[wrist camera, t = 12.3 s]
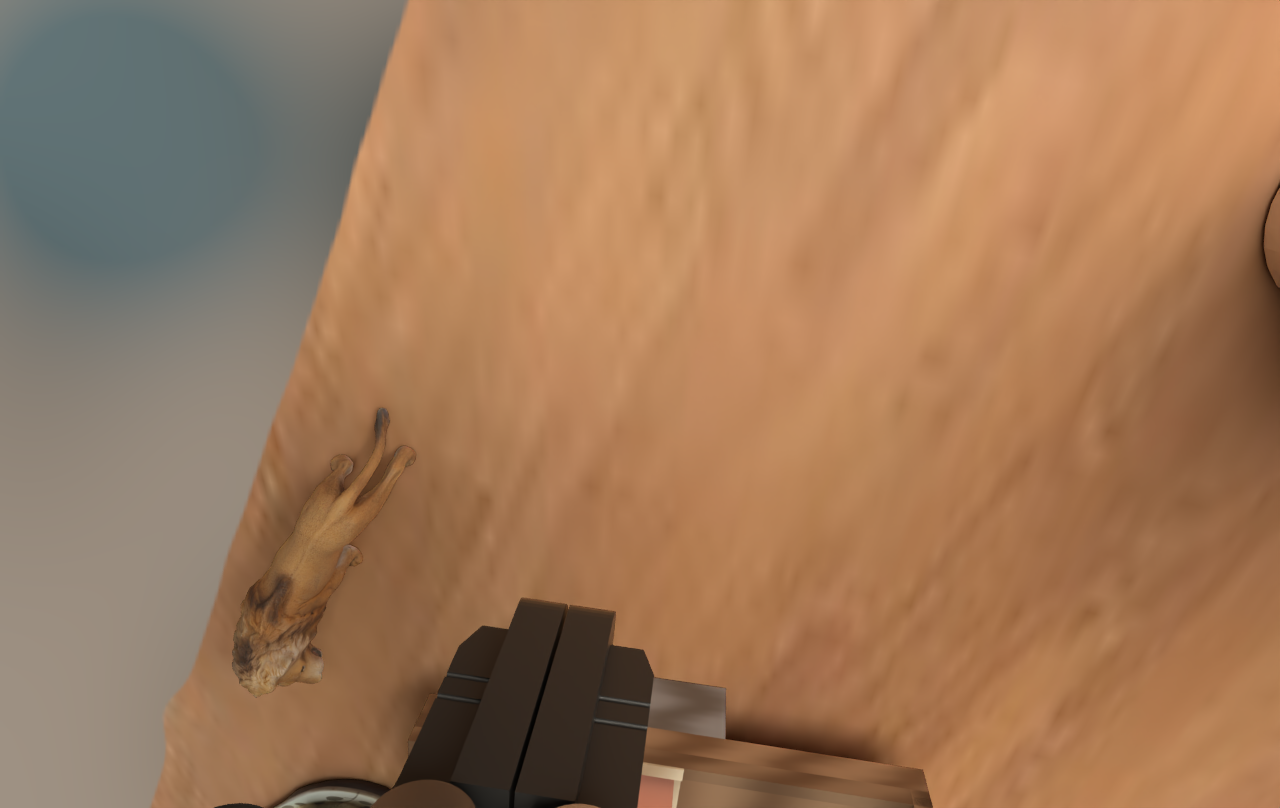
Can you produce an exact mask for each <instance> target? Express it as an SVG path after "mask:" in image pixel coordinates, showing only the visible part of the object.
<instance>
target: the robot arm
mask: <svg viewBox="0 0 1280 808" xmlns="http://www.w3.org/2000/svg"><path fill="white" fill-rule="evenodd" d="M1264 251H1265V257H1266V262H1267V267H1268V269H1269V271H1270V273H1271V275H1272V277H1273V279H1274V281H1275V283H1276V285H1277V286H1278V287H1279V288H1280V188H1279V190H1278V192H1277V194H1276V196H1275V198H1274V200H1273V202H1272V204H1271V207H1270V211H1269V214H1268V218H1267V221H1266V224H1265V235H1264ZM615 617H616V612H615V611H608V610H601V609H595V608H588V607H581V606H574V605H570V607H569V609H568V605H567V604H562V603H555V602H549V601H542V600H535V599H528V598H521V600H520V601H519V604H518V606H517V609H516V611H515V614H514V617H513V619H512V622H511V624H510V627H509V629H502V628H495V627H489V626H481V627H480V628H479V629H478V630H477V631H476V632H475V633H473V634H472V635H471V636H470V637H469V638H468V639H467V640H465V641H464V642H463V643H462V644H461V645H460V646H459V647H458V650H457V652H456V654H455V656H454V658H453V661H452V663H451V665H450V667H449V669H448V671H447V676H446V677H445V678H444V680H443V682H442V685H441V687H440V689H439V691H438V695H437V698H435V700H434V702H433V704H432V706H431V709H430V711H429V713H428V715H427V717H426V720H425V722H424V724H423V726H422V728H421V731H420V733H419V735H418V737H417V739H416V741H415V744H414V746H413V748H412V750H411V752H410V755H409V757H408V759H407V761H406V763H405V765H404V768H403V770H402V772H401V774H400V776H399V778H398V780H397V782H396V784H395V785H394V787H393V788H392V789H391V790H390V791H388V792H386V793H385V794H384V795H382V796H381V797H380V798H379V799H378V800H377V801H376V802H375V803H374V804H373V805H372V806H371V807H370V808H637V807H638V799H639V791H640V783H641V775H642V767H643V759H644V751H645V743H646V736H647V728H648V720H649V712H650V704H651V696H652V688H653V680H654V674H653V672H652V669H651V667H650V664H649V662H648V660H647V657H646V655H645V652H644V650H641V649H634V648H627V647H621V646H614V645H613V637H614V627H615ZM215 808H262V807H260V806H257V805H252V804H243V803H237V804H227V805H222V806H218V807H215Z"/></svg>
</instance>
